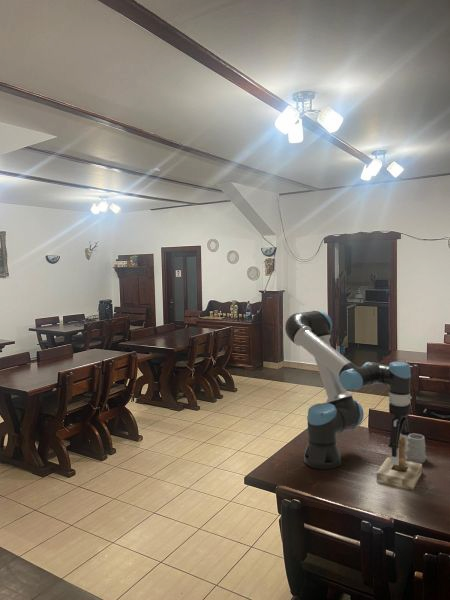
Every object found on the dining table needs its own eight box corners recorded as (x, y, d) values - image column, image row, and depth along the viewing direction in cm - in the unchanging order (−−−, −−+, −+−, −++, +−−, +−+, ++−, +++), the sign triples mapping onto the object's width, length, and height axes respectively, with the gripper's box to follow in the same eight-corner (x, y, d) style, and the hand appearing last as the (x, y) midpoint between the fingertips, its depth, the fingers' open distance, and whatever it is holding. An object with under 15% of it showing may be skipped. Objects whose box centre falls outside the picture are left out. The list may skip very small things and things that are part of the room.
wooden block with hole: (376, 481, 171) (376, 472, 171) (387, 465, 184) (387, 456, 184) (413, 490, 164) (413, 481, 164) (422, 472, 177) (422, 463, 177)
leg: (392, 475, 173) (392, 439, 172) (395, 470, 177) (395, 436, 176) (404, 477, 171) (403, 441, 170) (406, 473, 174) (406, 437, 173)
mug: (430, 462, 185) (430, 434, 184) (402, 464, 184) (402, 436, 183) (420, 454, 193) (420, 427, 192) (393, 456, 192) (393, 429, 191)
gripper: (402, 414, 159) (401, 472, 161) (417, 396, 180) (416, 447, 182) (380, 411, 163) (380, 467, 165) (397, 393, 184) (397, 443, 186)
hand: (399, 457), depth 174 cm, fingers open, 13 cm apart
